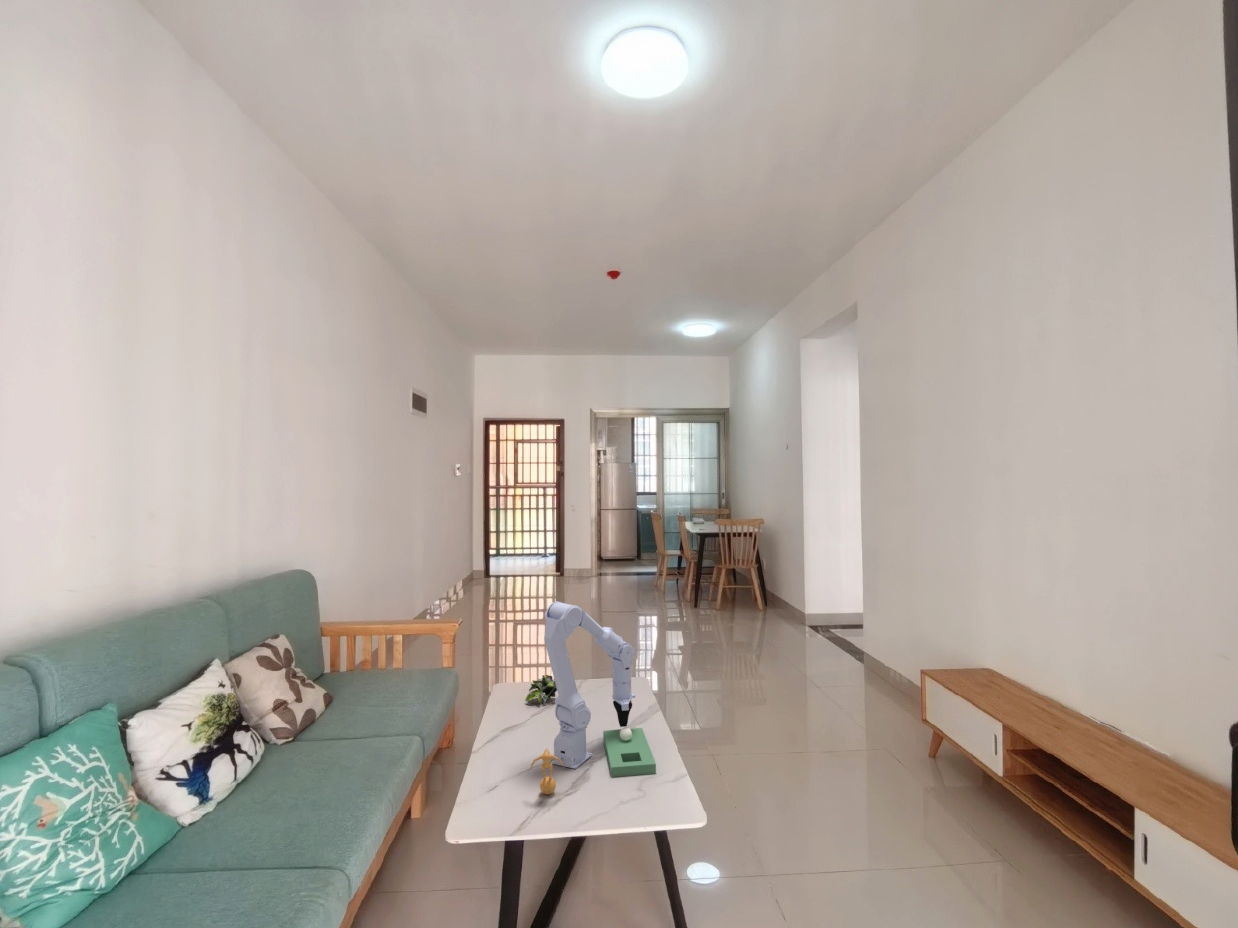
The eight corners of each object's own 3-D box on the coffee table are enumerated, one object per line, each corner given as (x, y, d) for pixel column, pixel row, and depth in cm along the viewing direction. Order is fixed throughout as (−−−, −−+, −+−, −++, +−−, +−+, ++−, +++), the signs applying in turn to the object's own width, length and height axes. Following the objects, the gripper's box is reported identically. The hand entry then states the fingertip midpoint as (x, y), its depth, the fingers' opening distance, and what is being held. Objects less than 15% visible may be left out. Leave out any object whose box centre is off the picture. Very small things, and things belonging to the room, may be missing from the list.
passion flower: (548, 713, 217) (566, 684, 219) (545, 719, 206) (565, 688, 209) (523, 695, 218) (541, 667, 221) (518, 700, 207) (538, 670, 210)
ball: (628, 743, 172) (628, 731, 172) (617, 741, 173) (617, 728, 173) (634, 738, 175) (633, 726, 175) (623, 736, 176) (623, 724, 177)
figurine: (564, 788, 152) (563, 740, 152) (564, 800, 146) (562, 751, 146) (532, 790, 151) (531, 742, 152) (530, 802, 145) (529, 753, 146)
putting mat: (656, 773, 159) (655, 763, 159) (611, 776, 157) (611, 767, 157) (642, 736, 182) (642, 727, 183) (603, 738, 181) (603, 730, 181)
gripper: (638, 687, 175) (639, 734, 174) (631, 672, 189) (632, 715, 189) (614, 689, 174) (615, 736, 173) (609, 673, 188) (610, 717, 188)
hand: (623, 725), depth 181 cm, fingers closed
